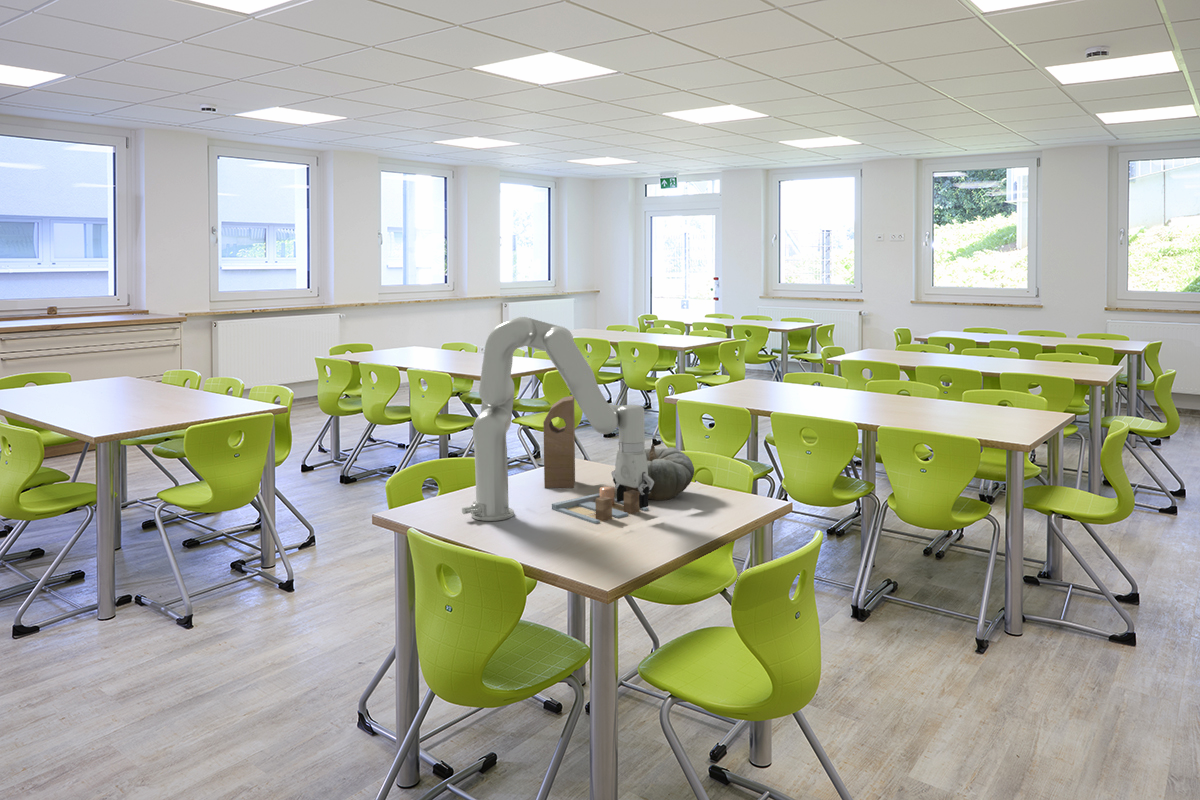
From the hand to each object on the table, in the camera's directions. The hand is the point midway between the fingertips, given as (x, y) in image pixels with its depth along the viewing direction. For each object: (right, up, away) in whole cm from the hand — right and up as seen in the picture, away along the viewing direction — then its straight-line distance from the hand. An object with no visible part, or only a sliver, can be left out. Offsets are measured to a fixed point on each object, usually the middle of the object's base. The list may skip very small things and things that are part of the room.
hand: (632, 503), depth 251 cm
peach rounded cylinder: (-7, -1, +9) cm, 11 cm away
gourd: (+8, -1, +22) cm, 24 cm away
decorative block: (-23, +2, +38) cm, 45 cm away
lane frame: (-10, -3, +3) cm, 11 cm away
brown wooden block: (-10, -4, -5) cm, 12 cm away
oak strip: (-5, -3, +6) cm, 8 cm away
